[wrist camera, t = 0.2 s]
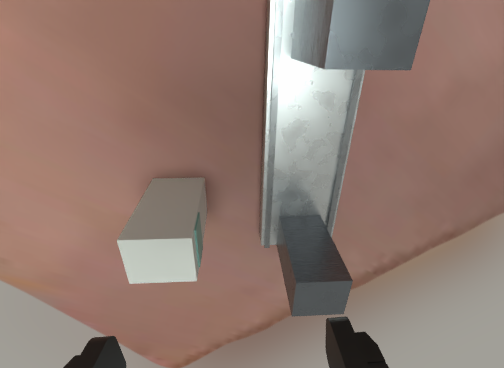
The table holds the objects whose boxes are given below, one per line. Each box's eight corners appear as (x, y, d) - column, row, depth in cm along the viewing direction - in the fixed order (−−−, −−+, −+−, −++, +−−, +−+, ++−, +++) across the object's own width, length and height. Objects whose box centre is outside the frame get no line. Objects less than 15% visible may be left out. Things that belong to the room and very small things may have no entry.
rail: (267, 0, 24) (296, -35, 13) (366, 2, 24) (477, -29, 13) (259, 232, 36) (270, 317, 25) (324, 230, 36) (363, 313, 25)
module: (153, 178, 31) (116, 240, 21) (205, 177, 32) (193, 238, 22) (159, 213, 34) (129, 283, 24) (208, 212, 34) (198, 281, 24)
